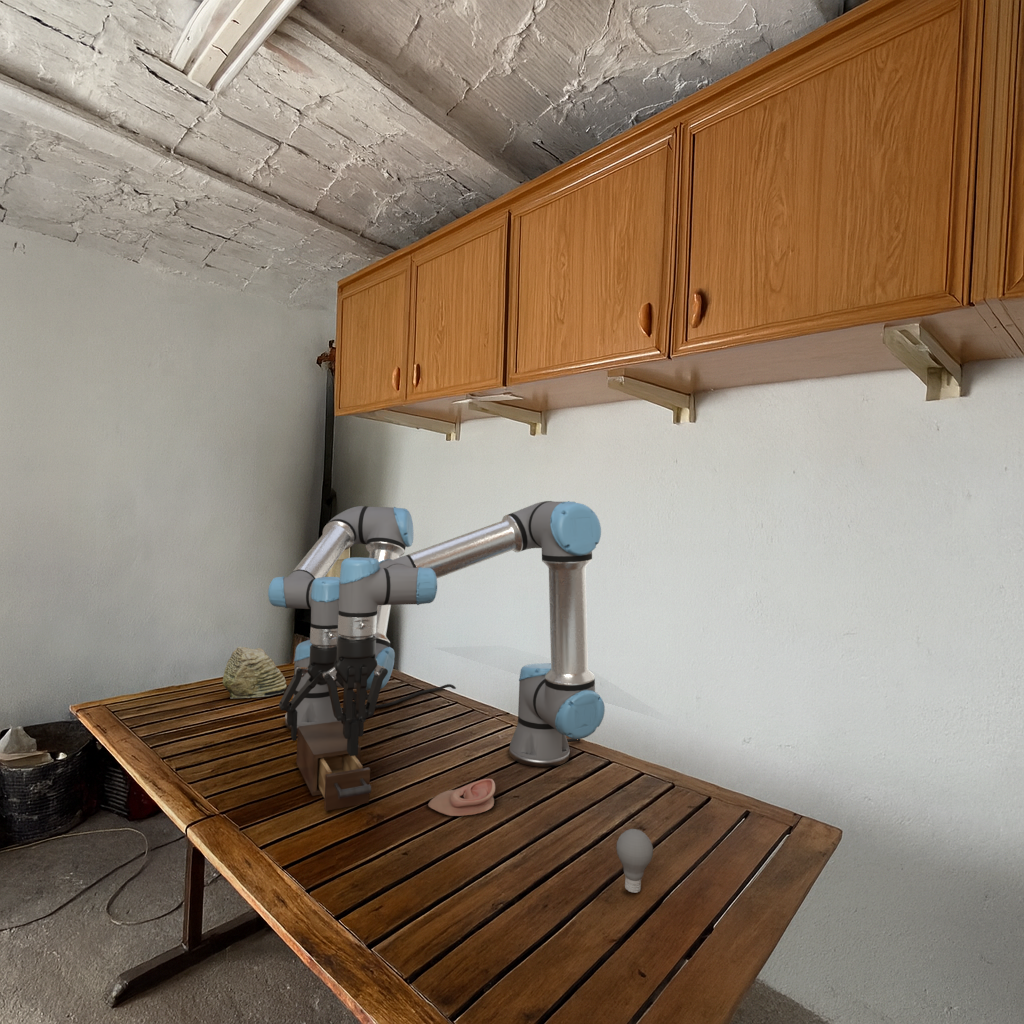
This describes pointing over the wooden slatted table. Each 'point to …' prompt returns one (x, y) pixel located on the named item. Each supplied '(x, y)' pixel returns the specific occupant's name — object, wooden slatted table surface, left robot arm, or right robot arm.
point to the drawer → (343, 781)
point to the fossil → (252, 674)
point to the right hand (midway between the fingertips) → (352, 752)
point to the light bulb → (634, 857)
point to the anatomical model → (466, 799)
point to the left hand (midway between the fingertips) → (323, 734)
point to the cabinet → (319, 749)
